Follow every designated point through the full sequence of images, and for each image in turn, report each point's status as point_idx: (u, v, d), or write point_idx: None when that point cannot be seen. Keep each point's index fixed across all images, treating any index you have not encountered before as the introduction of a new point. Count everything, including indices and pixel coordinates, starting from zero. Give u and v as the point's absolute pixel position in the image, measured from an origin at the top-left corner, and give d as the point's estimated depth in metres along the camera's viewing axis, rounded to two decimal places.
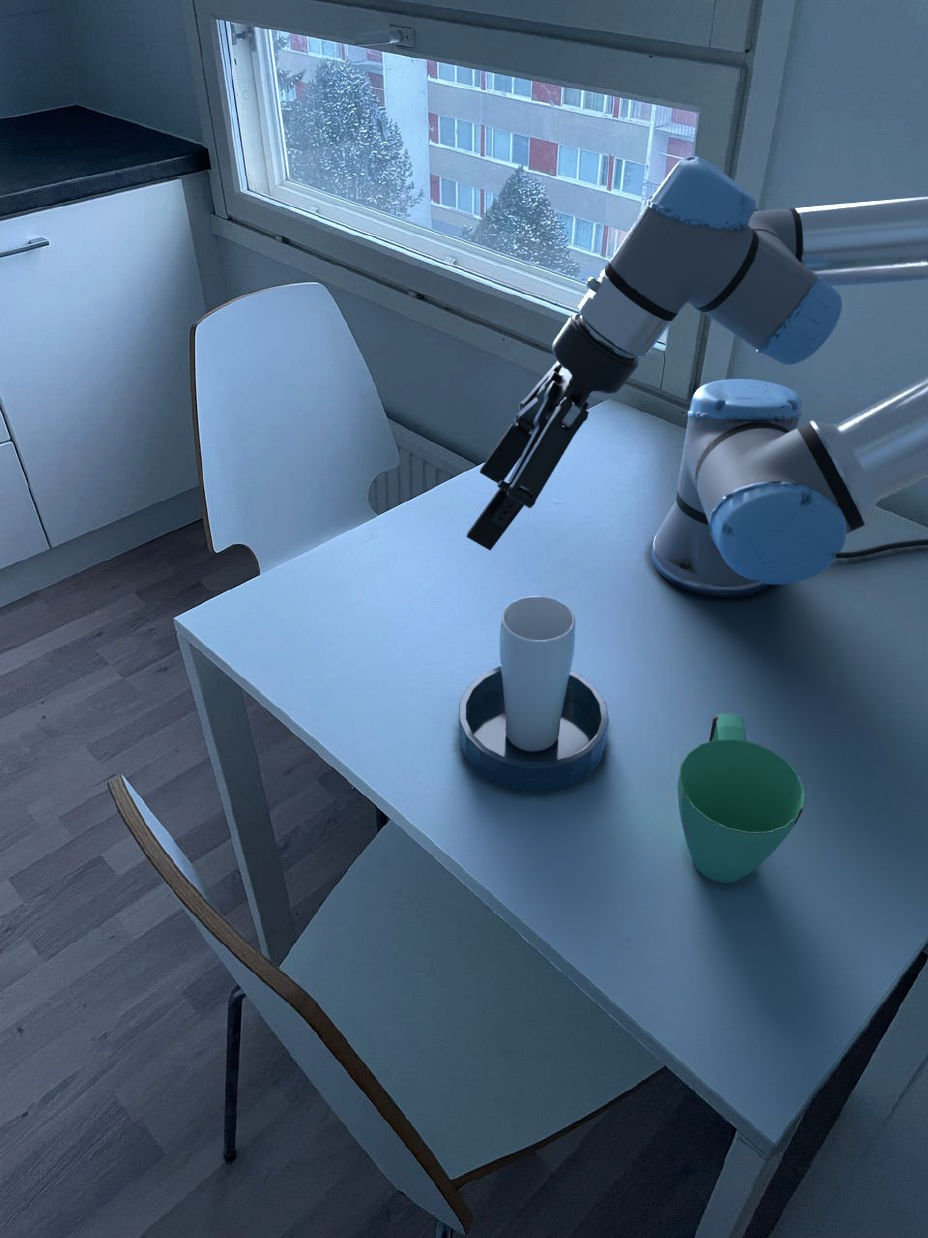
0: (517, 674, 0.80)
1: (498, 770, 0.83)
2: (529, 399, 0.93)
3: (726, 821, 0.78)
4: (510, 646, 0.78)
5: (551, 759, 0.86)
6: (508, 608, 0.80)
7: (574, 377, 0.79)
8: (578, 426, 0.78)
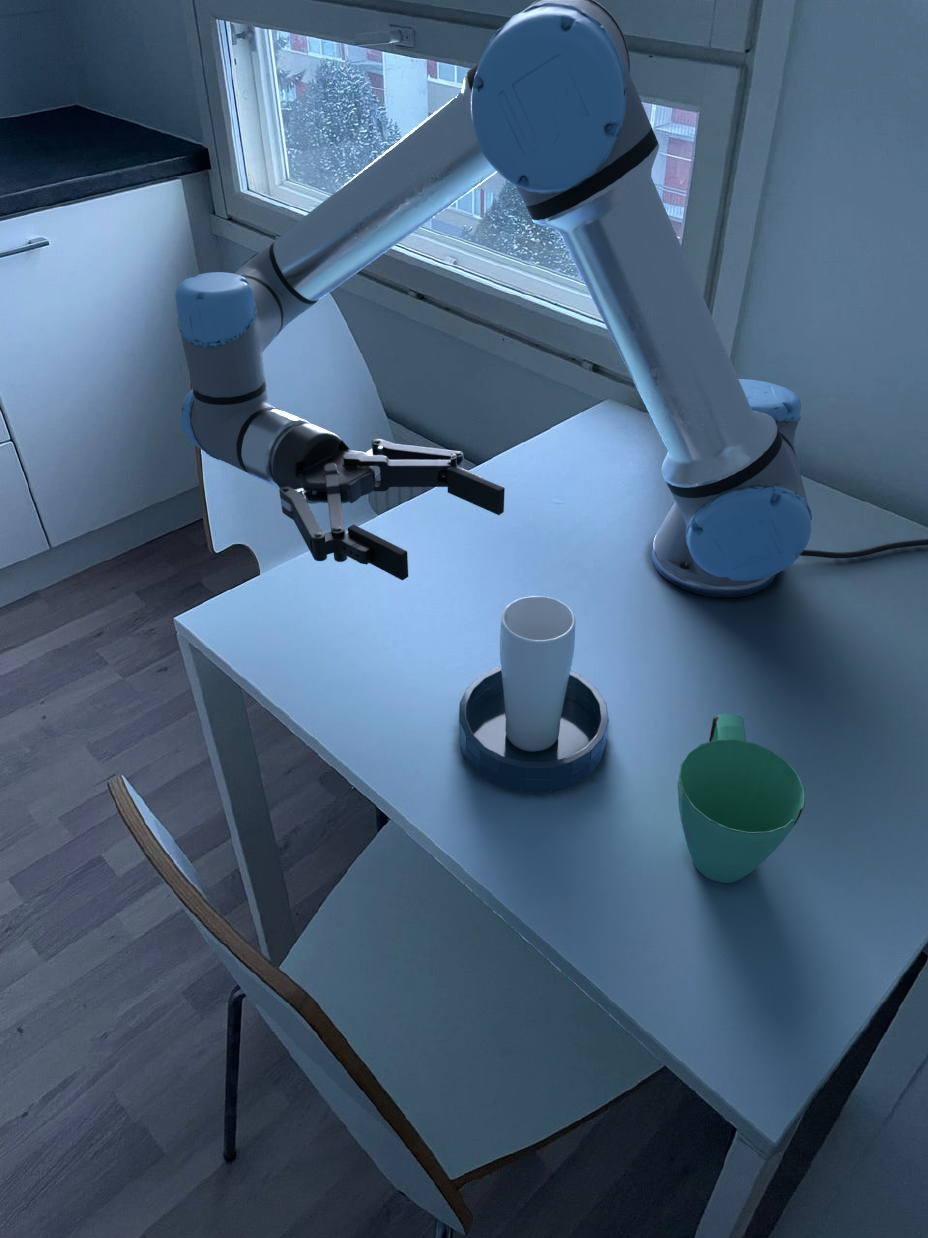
0: (517, 674, 0.80)
1: (498, 770, 0.83)
2: None
3: (726, 821, 0.78)
4: (510, 646, 0.78)
5: (551, 759, 0.86)
6: (508, 608, 0.80)
7: None
8: (285, 496, 0.84)
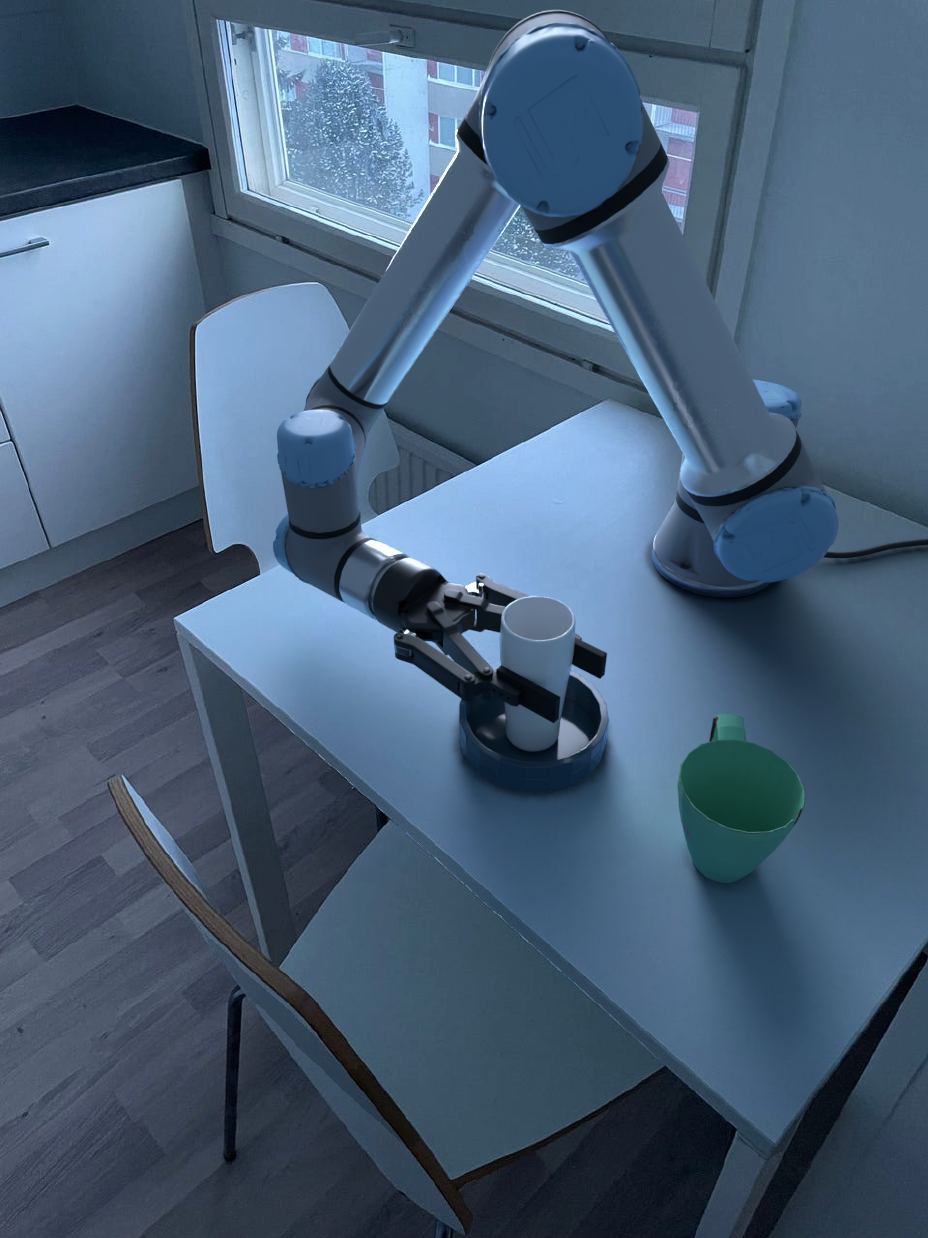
0: None
1: (498, 770, 0.83)
2: None
3: (726, 821, 0.78)
4: (510, 646, 0.78)
5: (551, 759, 0.86)
6: (508, 608, 0.80)
7: (398, 629, 0.88)
8: (404, 643, 0.83)
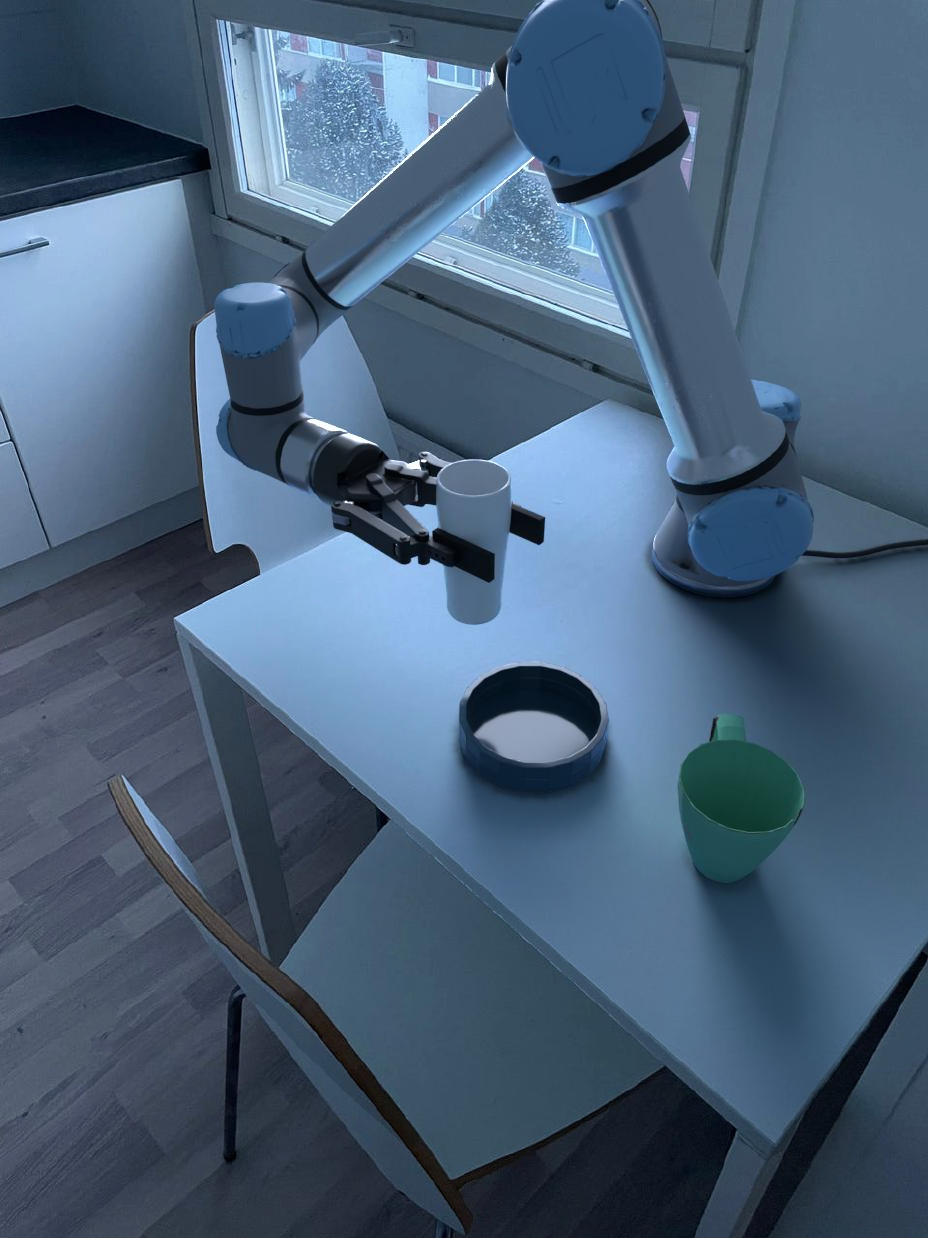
0: None
1: (498, 770, 0.83)
2: None
3: (726, 821, 0.78)
4: (445, 504, 0.77)
5: (551, 759, 0.86)
6: (444, 470, 0.79)
7: None
8: (341, 510, 0.82)
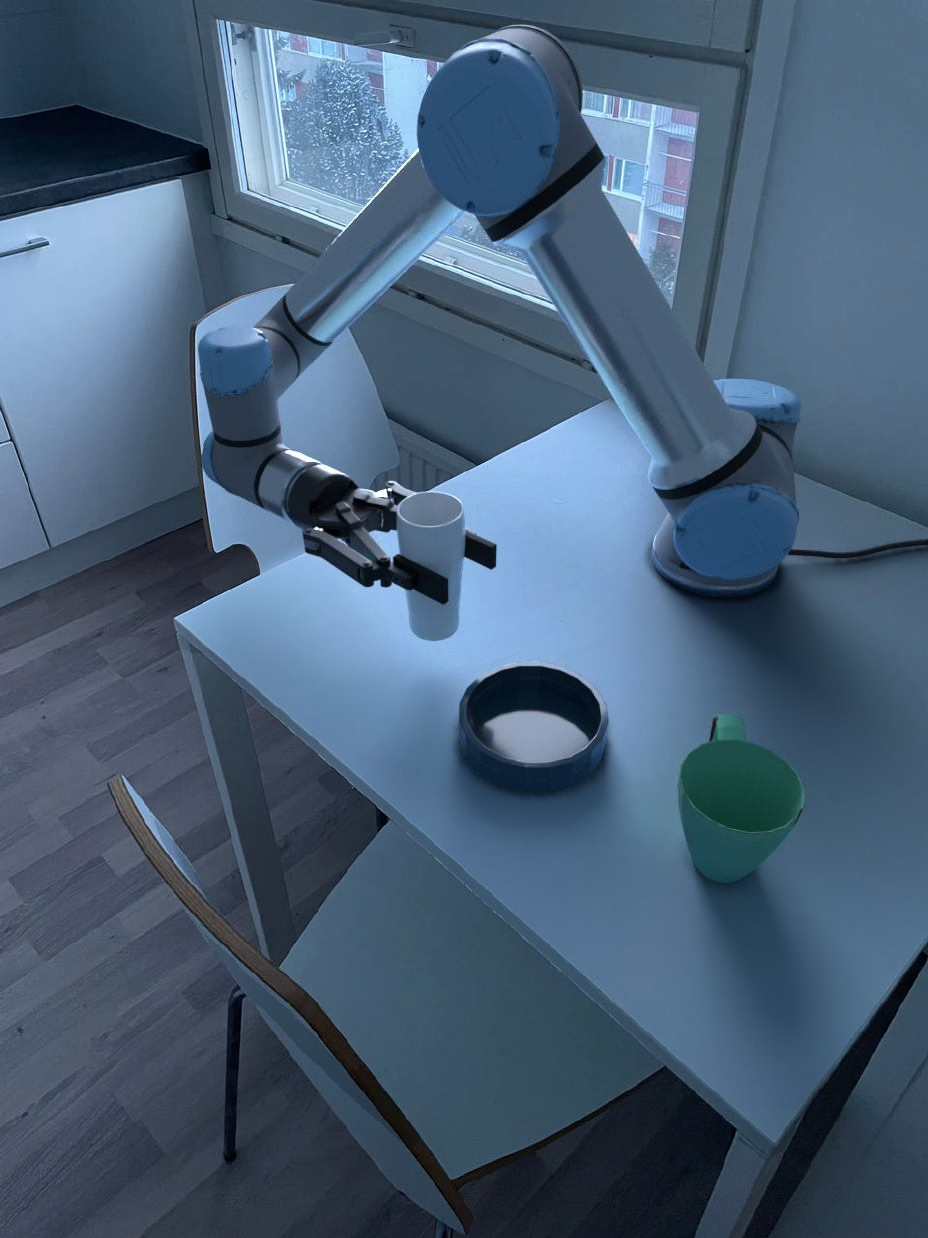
0: None
1: (498, 770, 0.83)
2: None
3: (726, 821, 0.78)
4: (403, 533, 0.85)
5: (551, 759, 0.86)
6: (404, 501, 0.87)
7: None
8: (311, 537, 0.90)
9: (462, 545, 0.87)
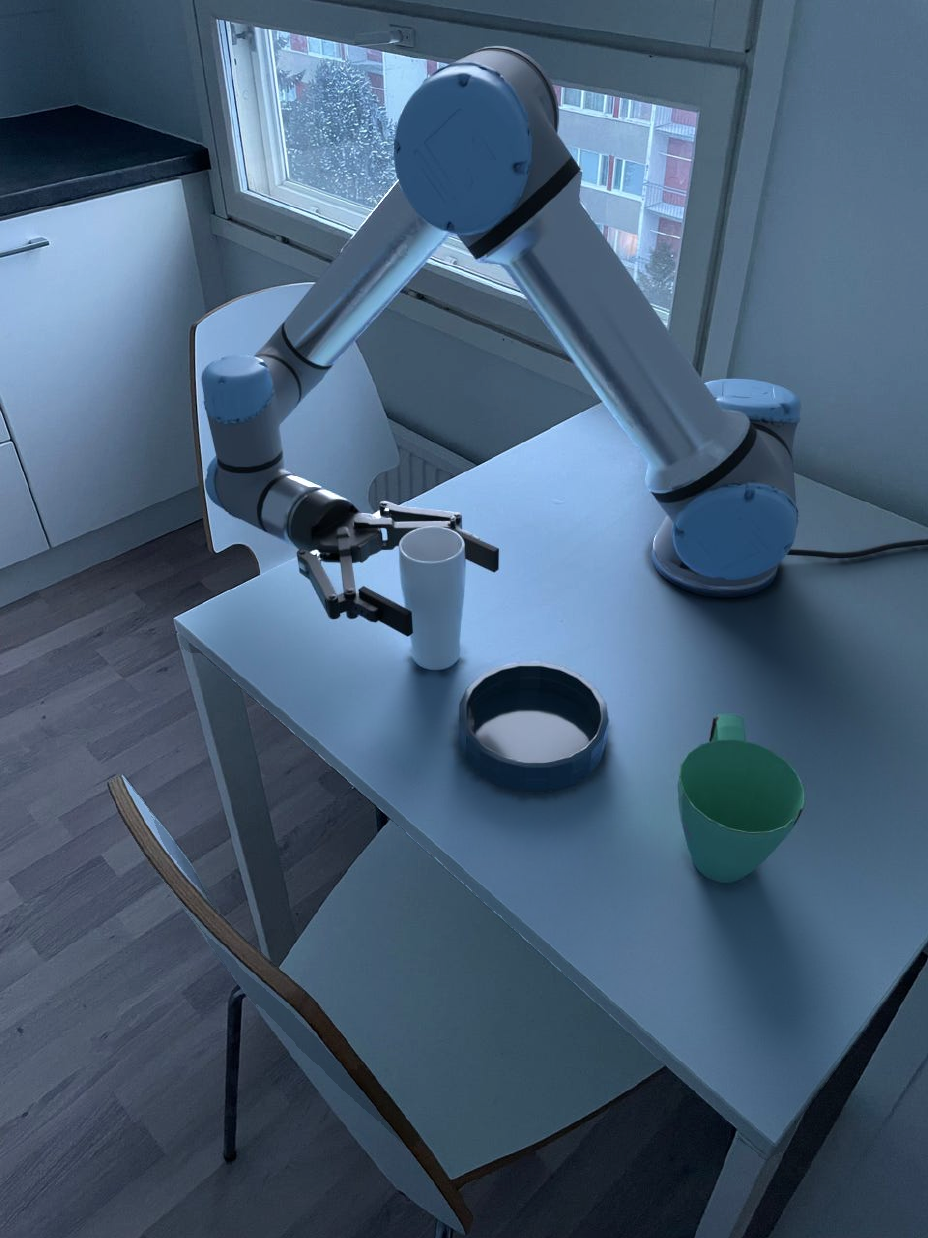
0: (413, 594, 0.89)
1: (498, 770, 0.83)
2: None
3: (726, 821, 0.78)
4: (405, 568, 0.88)
5: (551, 759, 0.86)
6: (406, 537, 0.90)
7: None
8: (302, 559, 0.93)
9: (462, 579, 0.90)
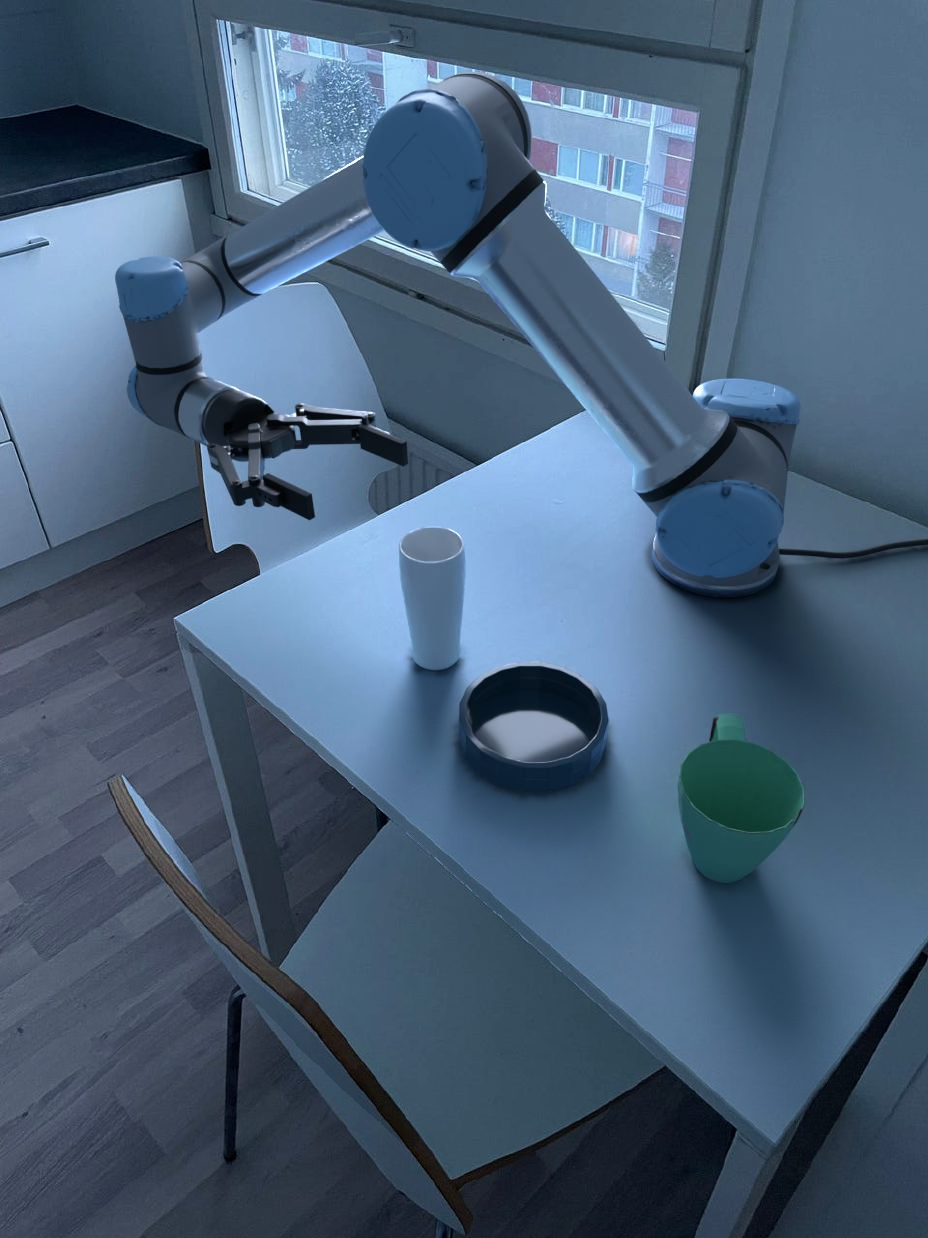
0: (413, 594, 0.89)
1: (498, 770, 0.83)
2: None
3: (726, 821, 0.78)
4: (405, 569, 0.88)
5: (551, 759, 0.86)
6: (406, 537, 0.90)
7: None
8: (211, 451, 0.94)
9: (462, 579, 0.90)
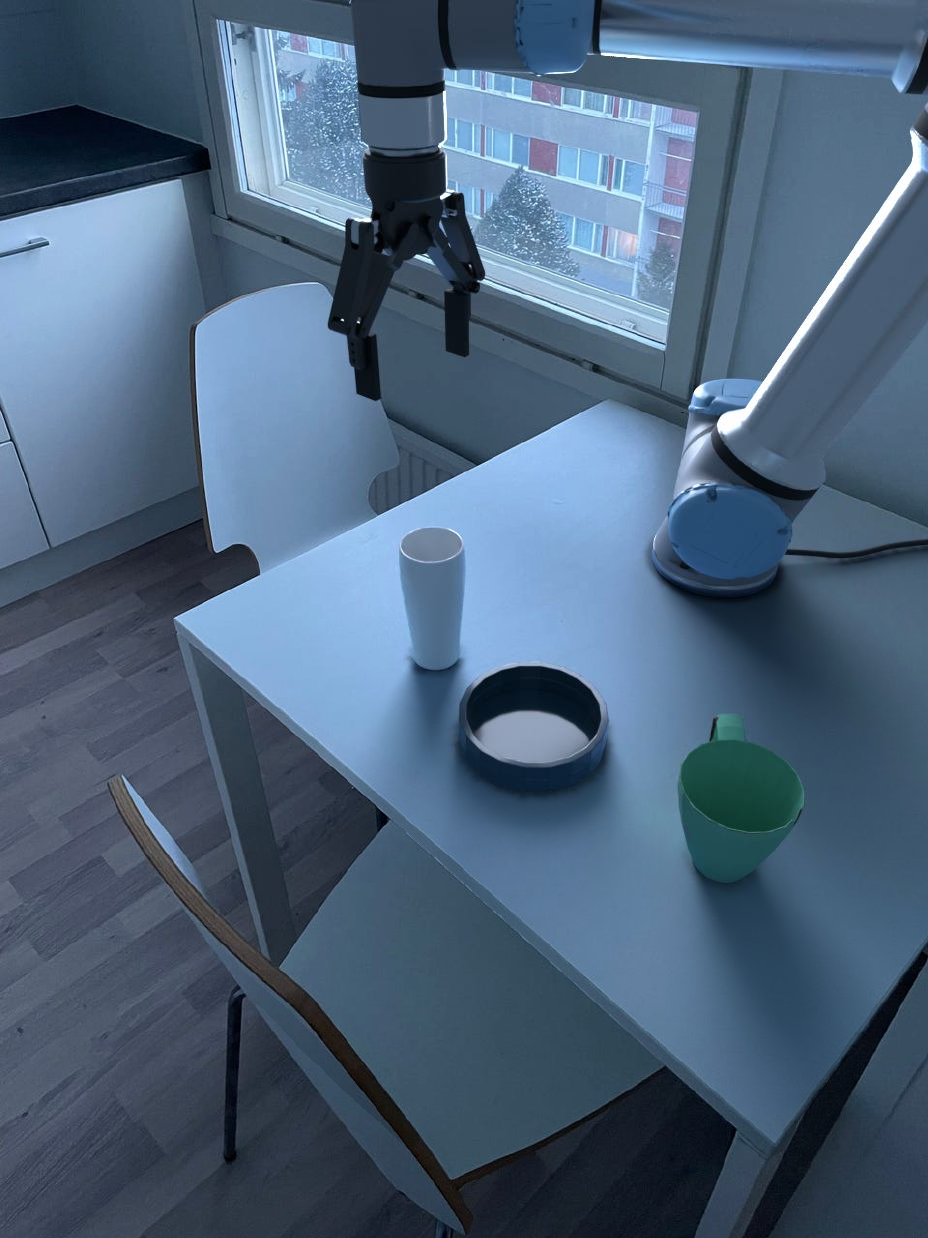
0: (413, 594, 0.89)
1: (498, 770, 0.83)
2: None
3: (726, 821, 0.78)
4: (405, 569, 0.88)
5: (551, 759, 0.86)
6: (406, 537, 0.90)
7: (370, 198, 0.80)
8: (363, 239, 0.78)
9: (462, 579, 0.90)
